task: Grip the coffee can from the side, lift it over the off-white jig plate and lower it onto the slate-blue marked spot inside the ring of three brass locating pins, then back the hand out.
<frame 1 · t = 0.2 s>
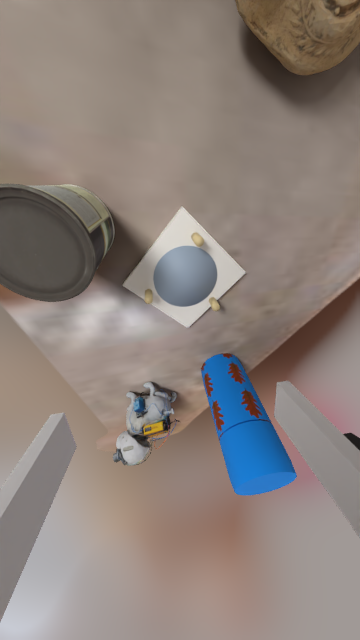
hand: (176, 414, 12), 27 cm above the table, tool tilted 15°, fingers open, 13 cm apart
oil lamp: (291, 12, 21), on the table
thermos: (220, 366, 52), on the table
pin jig: (184, 276, 36), on the table
coffee can: (79, 225, 29), on the table
robotic toy: (146, 396, 56), on the table
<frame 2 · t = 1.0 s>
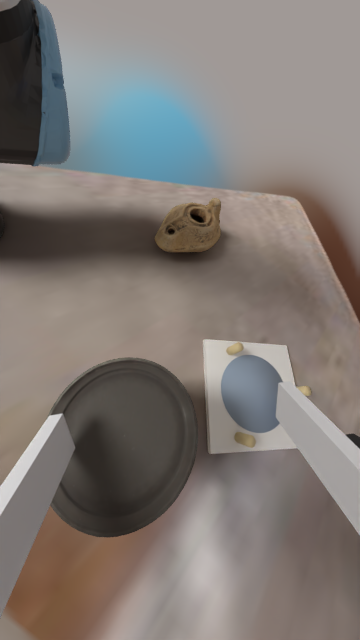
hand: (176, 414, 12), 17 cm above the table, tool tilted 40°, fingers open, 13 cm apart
oil lamp: (184, 243, 41), on the table
pin jig: (251, 391, 32), on the table
coffee can: (136, 421, 26), on the table, touching gripper
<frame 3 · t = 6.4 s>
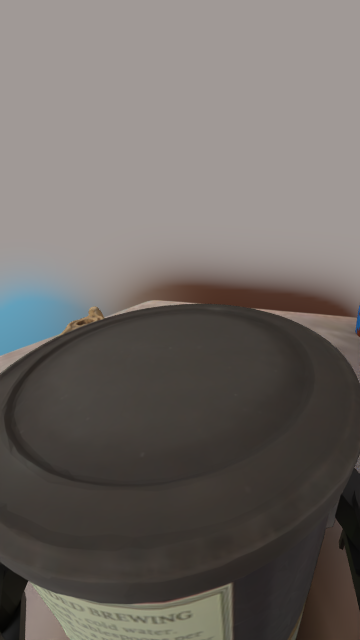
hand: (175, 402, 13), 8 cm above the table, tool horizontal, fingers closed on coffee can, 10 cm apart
oil lamp: (90, 353, 39), on the table
coffee can: (193, 557, 12), on the table, touching gripper
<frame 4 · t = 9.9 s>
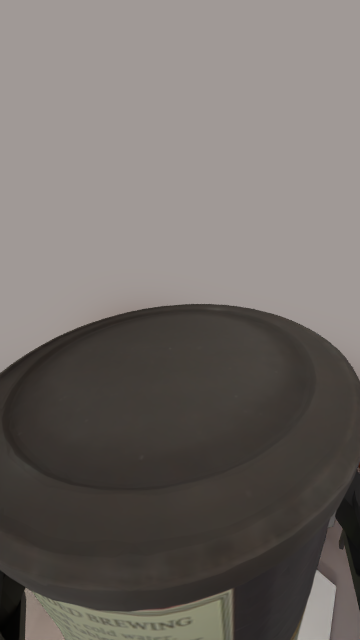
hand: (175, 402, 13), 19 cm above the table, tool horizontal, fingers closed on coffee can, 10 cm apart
pin jig: (202, 603, 17), on the table
coffee can: (192, 559, 12), point 11 cm above the table, touching gripper
when the fingers open (10 cm above the table, at t = 13.2 s): coffee can drops 1 cm, resting on pin jig.
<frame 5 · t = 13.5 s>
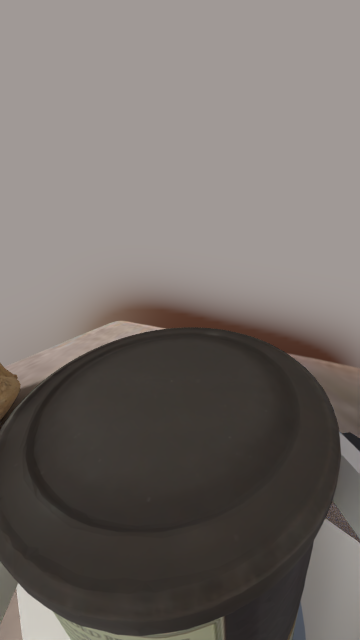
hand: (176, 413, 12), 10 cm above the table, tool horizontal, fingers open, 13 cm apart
pin jig: (195, 578, 12), on the table
coffee can: (192, 572, 12), point 1 cm above the table, touching pin jig
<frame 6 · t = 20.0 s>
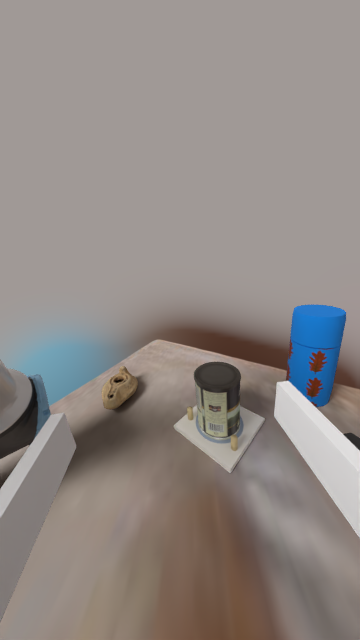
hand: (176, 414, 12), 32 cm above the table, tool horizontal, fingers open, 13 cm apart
oil lamp: (121, 399, 61), on the table
thermos: (306, 393, 56), on the table
pin jig: (219, 425, 49), on the table
coffee can: (218, 422, 48), point 1 cm above the table, touching pin jig
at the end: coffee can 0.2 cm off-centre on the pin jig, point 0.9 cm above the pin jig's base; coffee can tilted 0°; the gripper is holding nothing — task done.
